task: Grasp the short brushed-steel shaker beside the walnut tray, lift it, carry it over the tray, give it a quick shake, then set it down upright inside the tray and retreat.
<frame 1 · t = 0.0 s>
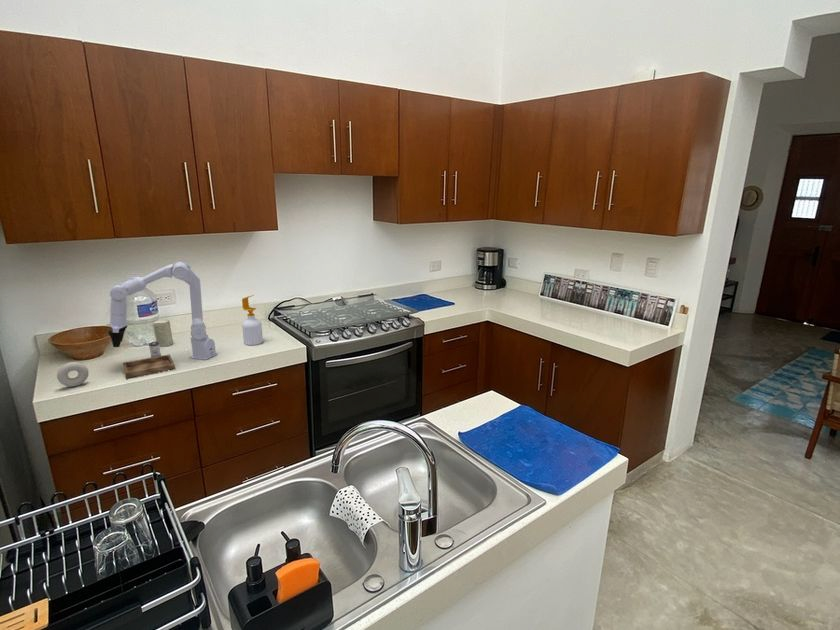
hand: (117, 344, 196), 11 cm above the countertop, tool pointing down, fingers open, 7 cm apart
walnut tray: (149, 368, 197), on the countertop
steel shaker: (156, 357, 210), on the countertop
soap bottle: (253, 342, 230), on the countertop
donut: (75, 386, 180), on the countertop
skincare box: (165, 345, 226), on the countertop
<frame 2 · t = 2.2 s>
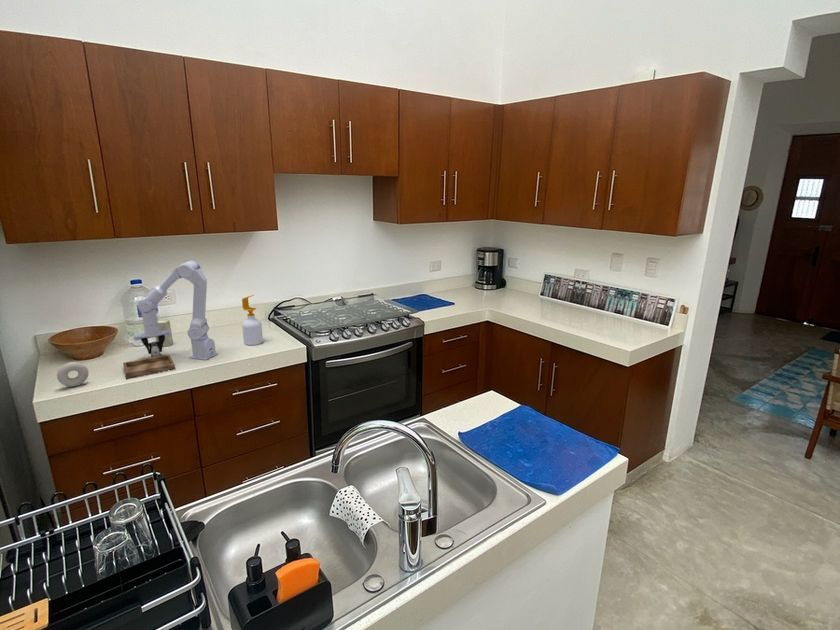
hand: (155, 352, 209), 2 cm above the countertop, tool pointing down, fingers closed on steel shaker, 4 cm apart
steel shaker: (156, 357, 210), on the countertop, touching gripper
everything else where it was.
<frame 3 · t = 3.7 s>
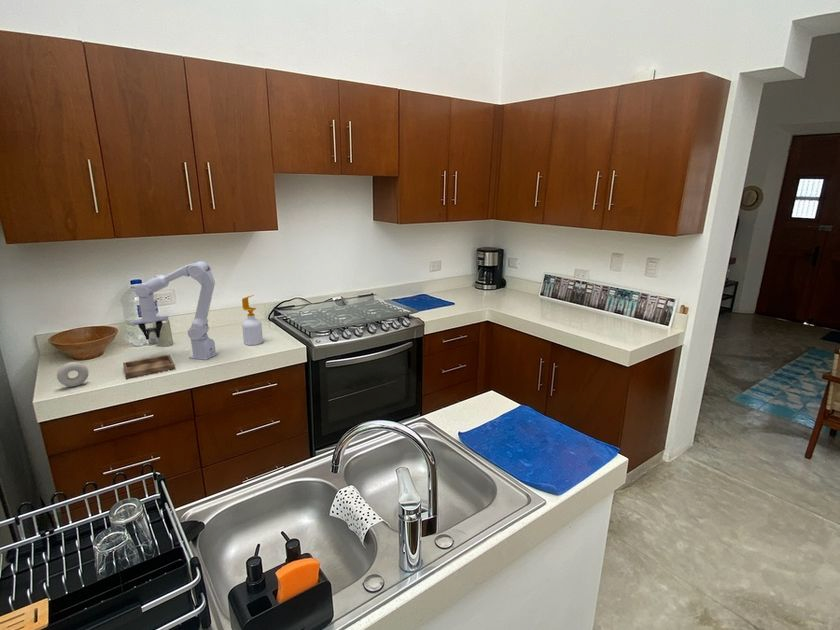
hand: (152, 338, 207), 9 cm above the countertop, tool pointing down, fingers closed on steel shaker, 4 cm apart
steel shaker: (153, 343, 208), point 7 cm above the countertop, touching gripper
everything else where it was.
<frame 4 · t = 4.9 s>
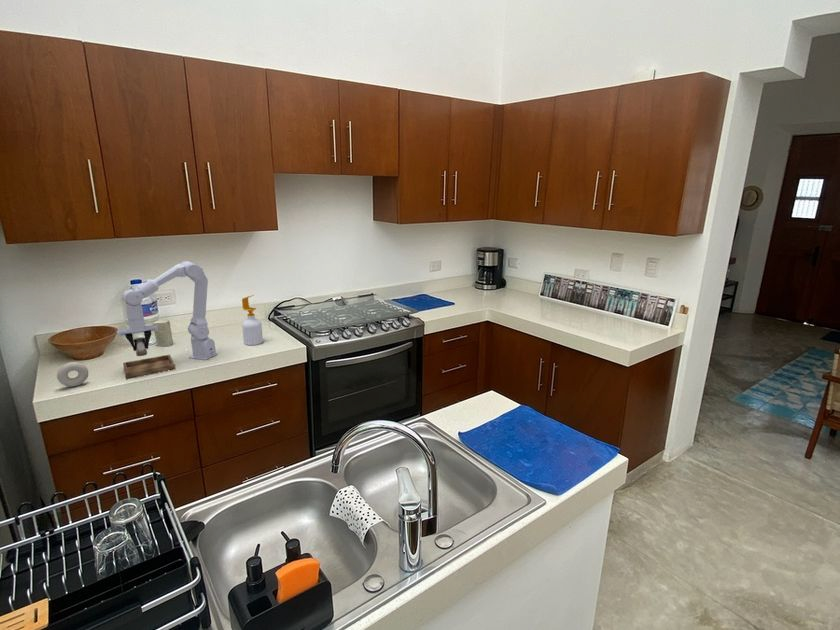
hand: (141, 349, 193), 9 cm above the countertop, tool pointing down, fingers closed on steel shaker, 4 cm apart
steel shaker: (141, 354, 194), point 7 cm above the countertop, touching gripper
everything else where it was.
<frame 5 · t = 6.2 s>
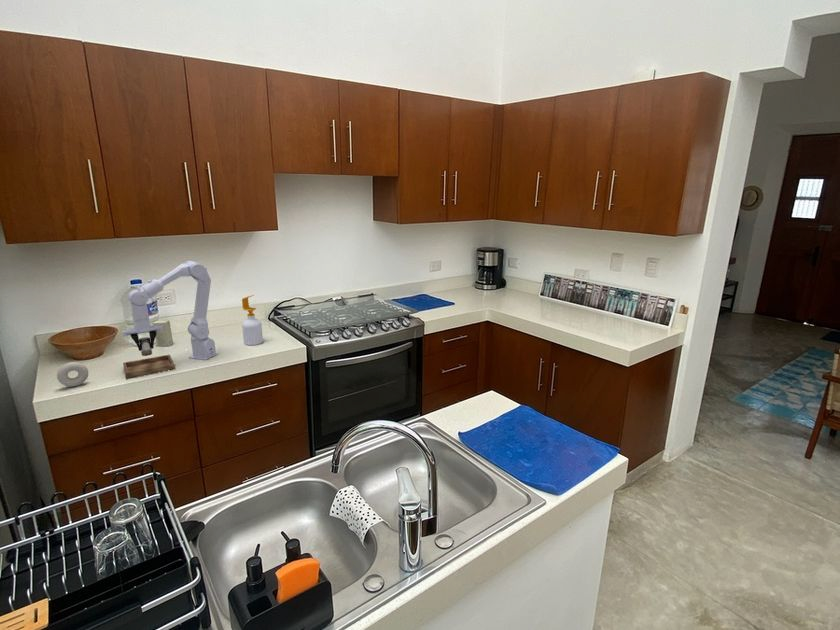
hand: (146, 349, 194), 9 cm above the countertop, tool pointing down, fingers closed on steel shaker, 4 cm apart
steel shaker: (147, 354, 195), point 7 cm above the countertop, touching gripper
everything else where it was.
when the fingers open (4 cm above the countertop, at t = 7.4 s): steel shaker drops 1 cm, resting on walnut tray.
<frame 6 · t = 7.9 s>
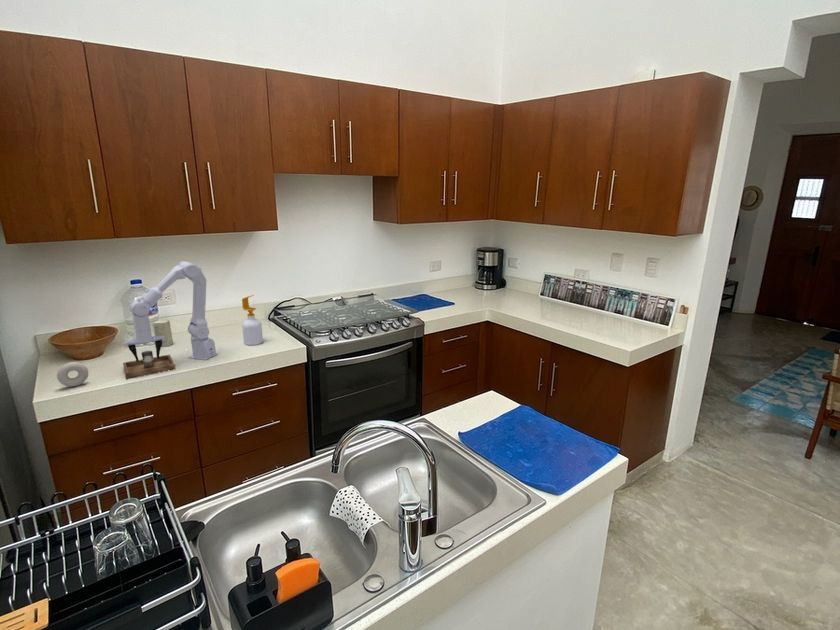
hand: (147, 359, 196), 4 cm above the countertop, tool pointing down, fingers open, 7 cm apart
steel shaker: (149, 367, 197), point 1 cm above the countertop, touching walnut tray
everything else where it was.
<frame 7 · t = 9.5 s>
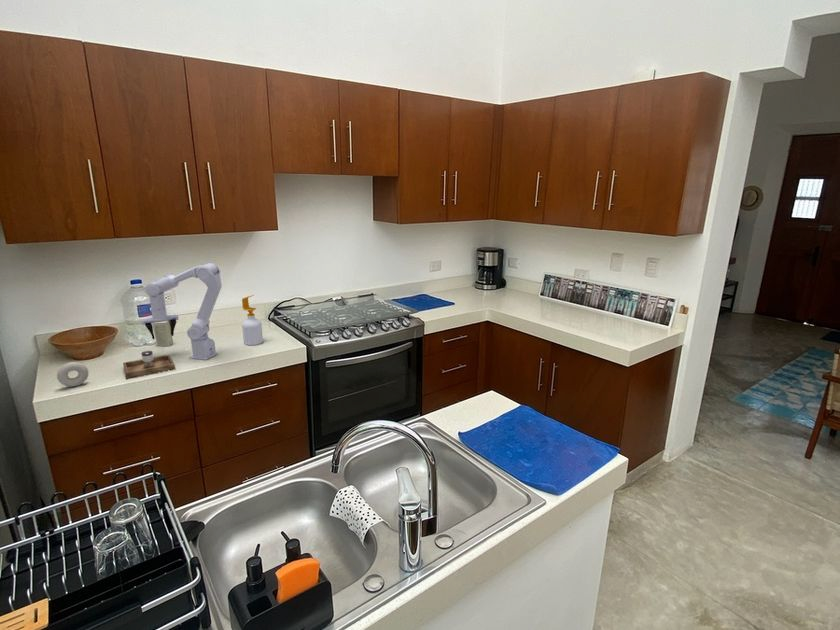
hand: (162, 336, 209), 9 cm above the countertop, tool pointing down, fingers open, 7 cm apart
nothing on the countertop moved.
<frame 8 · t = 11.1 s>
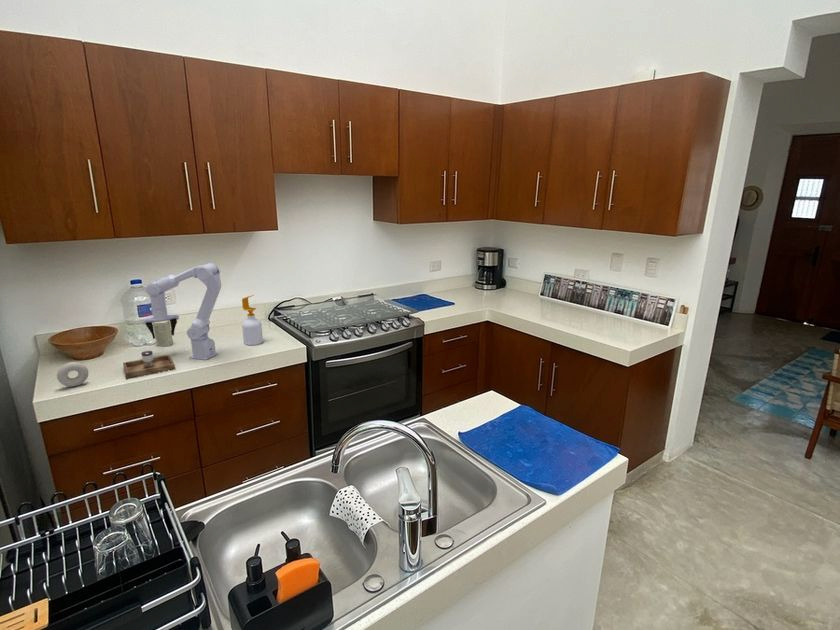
hand: (163, 336, 209), 9 cm above the countertop, tool pointing down, fingers open, 7 cm apart
nothing on the countertop moved.
at the end: steel shaker inside the target area on the walnut tray (0.1 cm from its centre), point 0.5 cm above the walnut tray's base; steel shaker tilted 0°; the gripper is holding nothing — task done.
